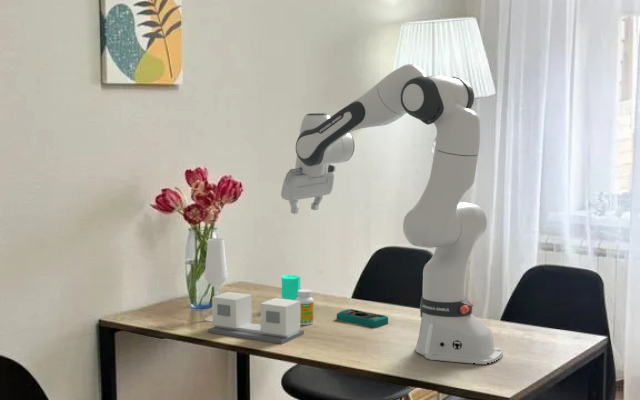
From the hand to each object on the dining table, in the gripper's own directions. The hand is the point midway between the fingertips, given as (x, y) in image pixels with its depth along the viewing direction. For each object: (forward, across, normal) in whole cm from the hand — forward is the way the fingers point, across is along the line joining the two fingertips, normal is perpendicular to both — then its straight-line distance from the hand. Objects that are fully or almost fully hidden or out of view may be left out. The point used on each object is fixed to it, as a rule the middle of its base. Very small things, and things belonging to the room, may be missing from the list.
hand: (304, 211), depth 269 cm
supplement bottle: (+31, -7, -11) cm, 33 cm away
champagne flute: (+34, -20, +12) cm, 42 cm away
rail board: (+30, -25, -8) cm, 40 cm away
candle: (+33, +3, +3) cm, 34 cm away
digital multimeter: (+29, +5, -23) cm, 38 cm away
